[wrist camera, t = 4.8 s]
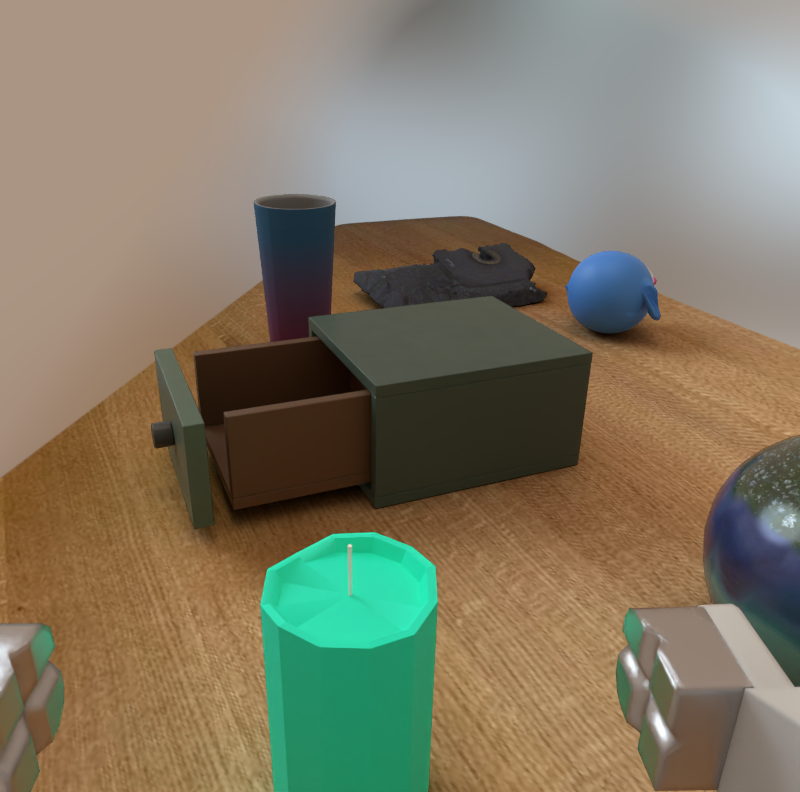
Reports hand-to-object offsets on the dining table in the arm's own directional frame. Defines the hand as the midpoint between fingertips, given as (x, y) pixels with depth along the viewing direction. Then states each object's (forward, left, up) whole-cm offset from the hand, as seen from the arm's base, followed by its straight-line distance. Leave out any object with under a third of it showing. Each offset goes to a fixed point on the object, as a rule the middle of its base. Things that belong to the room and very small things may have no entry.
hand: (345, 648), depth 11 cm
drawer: (-32, +20, -18) cm, 42 cm away
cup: (-46, +33, -19) cm, 60 cm away
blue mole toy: (-33, +65, -19) cm, 75 cm away
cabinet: (-28, +32, -19) cm, 46 cm away
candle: (-9, +8, -19) cm, 23 cm away
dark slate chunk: (-53, +60, -19) cm, 82 cm away
